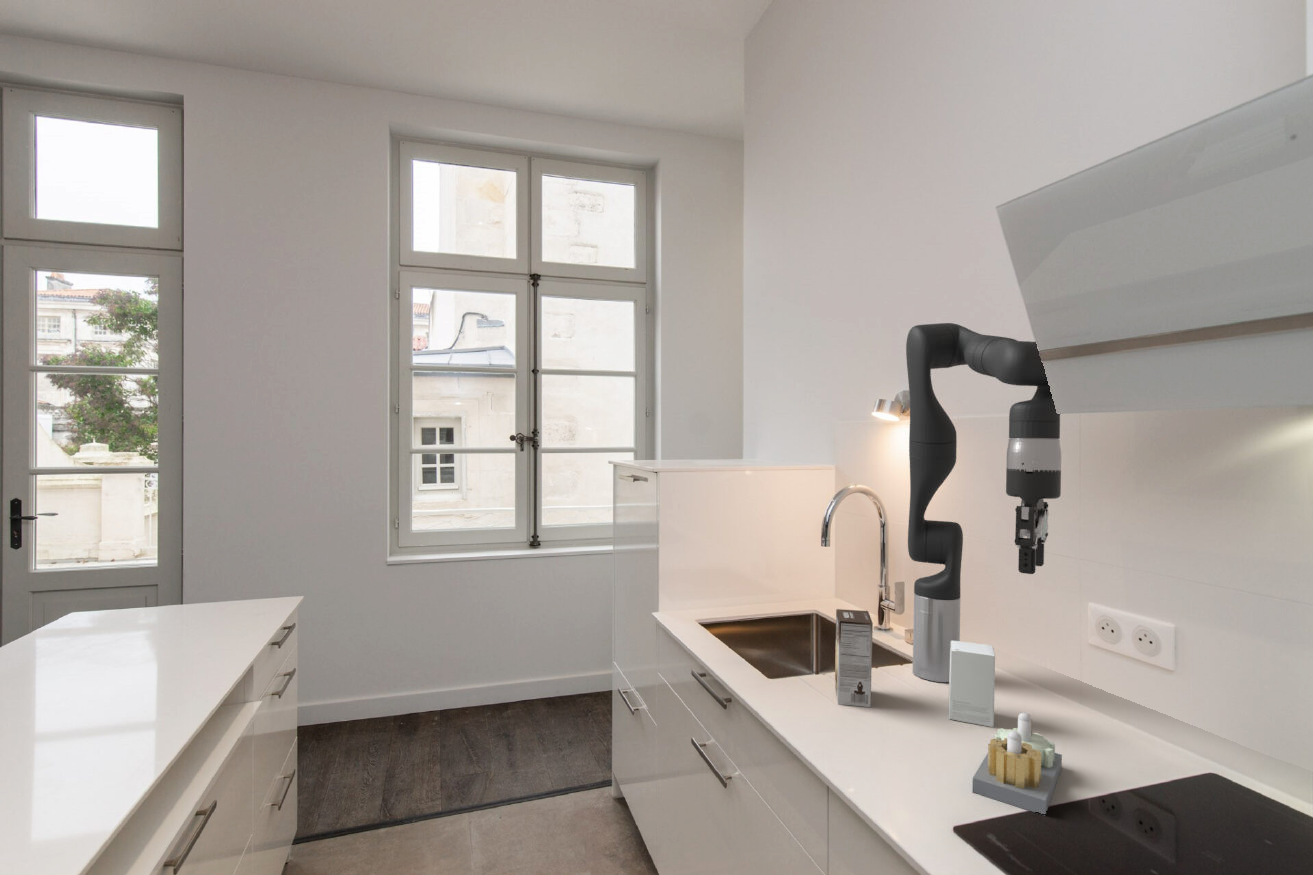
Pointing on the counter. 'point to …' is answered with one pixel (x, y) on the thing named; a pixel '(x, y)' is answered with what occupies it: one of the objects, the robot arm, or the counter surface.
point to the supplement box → (972, 683)
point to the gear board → (1028, 796)
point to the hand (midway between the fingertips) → (1031, 569)
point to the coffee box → (853, 657)
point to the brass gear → (1014, 764)
